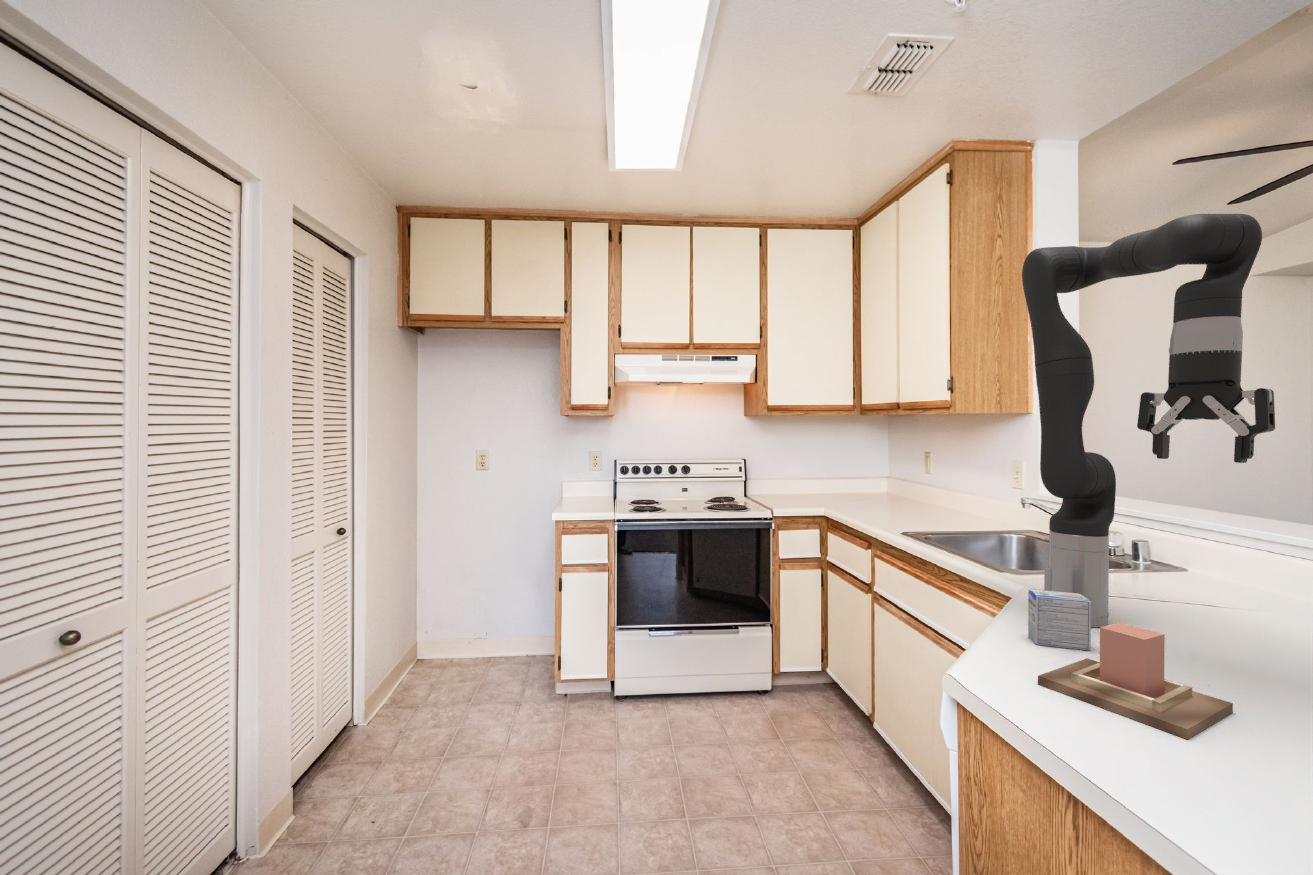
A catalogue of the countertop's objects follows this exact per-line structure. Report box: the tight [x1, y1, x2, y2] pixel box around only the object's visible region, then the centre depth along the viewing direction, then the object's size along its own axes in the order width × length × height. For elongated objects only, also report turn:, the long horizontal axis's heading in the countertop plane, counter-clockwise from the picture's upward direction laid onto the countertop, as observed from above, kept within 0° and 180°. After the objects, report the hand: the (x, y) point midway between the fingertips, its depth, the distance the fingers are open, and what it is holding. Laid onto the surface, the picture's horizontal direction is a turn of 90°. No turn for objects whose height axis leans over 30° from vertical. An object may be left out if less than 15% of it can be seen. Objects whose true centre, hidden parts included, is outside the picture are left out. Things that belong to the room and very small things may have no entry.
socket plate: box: [1037, 658, 1234, 741], centre depth 73 cm, size 16×14×2 cm
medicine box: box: [1027, 589, 1092, 651], centre depth 92 cm, size 8×4×9 cm, turn 71°
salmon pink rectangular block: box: [1099, 622, 1166, 698], centre depth 73 cm, size 5×5×8 cm
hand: (1199, 460), depth 79 cm, fingers open, 8 cm apart
